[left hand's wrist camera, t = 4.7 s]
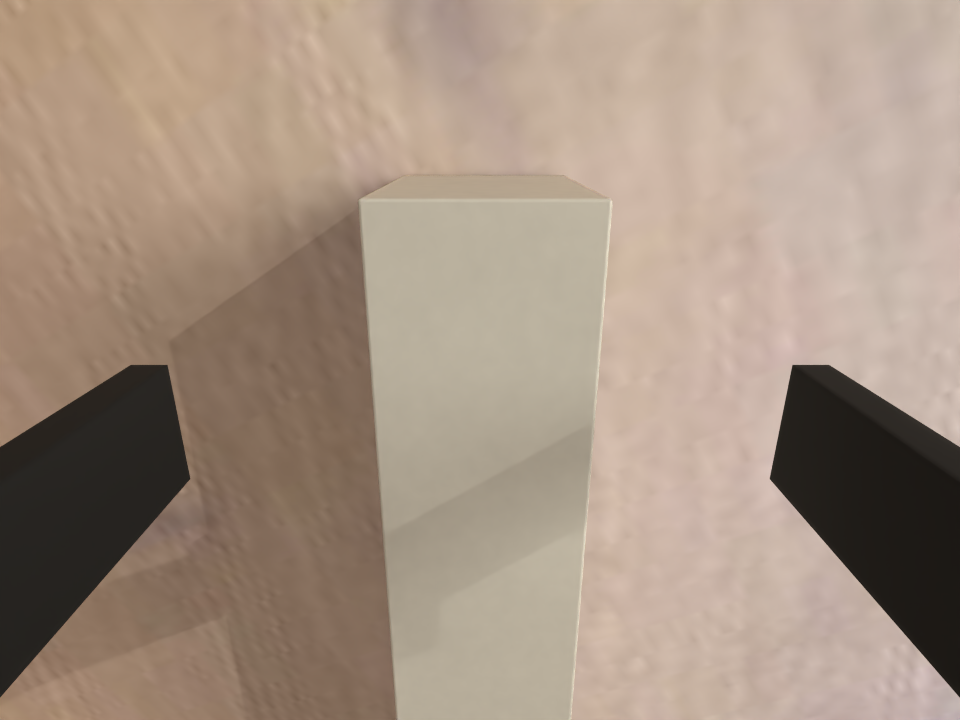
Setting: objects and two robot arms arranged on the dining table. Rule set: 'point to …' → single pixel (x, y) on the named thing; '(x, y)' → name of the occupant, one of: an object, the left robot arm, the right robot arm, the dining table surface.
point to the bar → (484, 432)
